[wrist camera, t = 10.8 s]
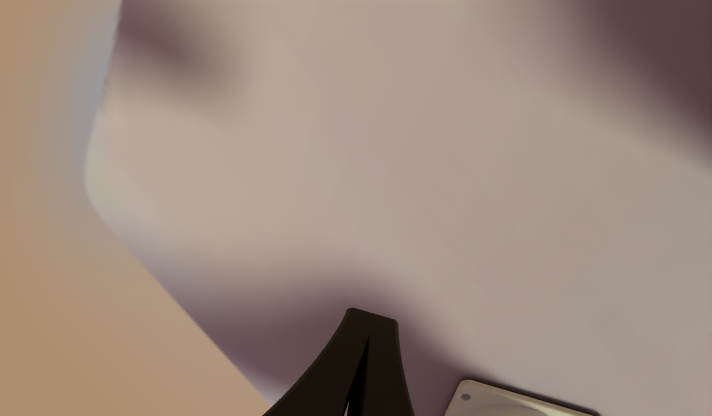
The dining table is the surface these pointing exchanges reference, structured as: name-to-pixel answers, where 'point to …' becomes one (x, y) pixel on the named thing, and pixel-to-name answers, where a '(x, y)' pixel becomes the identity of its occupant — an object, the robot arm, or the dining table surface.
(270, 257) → the dining table surface
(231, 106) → the dining table surface
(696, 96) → the dining table surface
